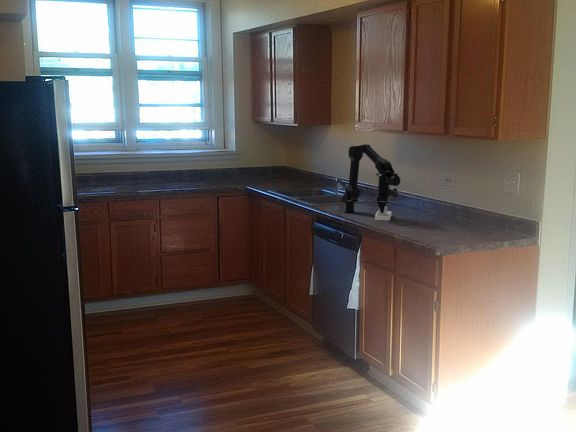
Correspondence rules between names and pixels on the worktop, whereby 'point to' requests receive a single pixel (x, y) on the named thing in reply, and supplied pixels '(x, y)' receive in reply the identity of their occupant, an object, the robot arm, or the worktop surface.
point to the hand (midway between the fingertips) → (382, 212)
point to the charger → (383, 212)
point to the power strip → (383, 216)
